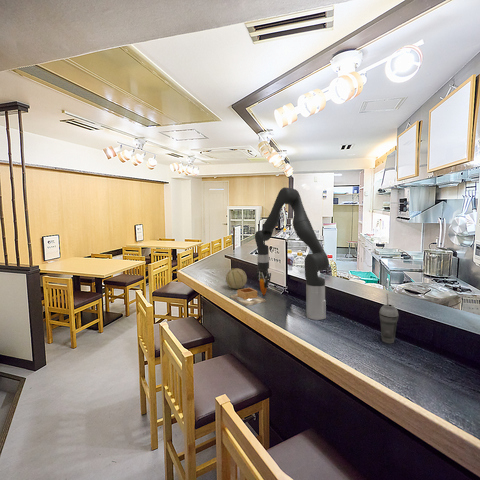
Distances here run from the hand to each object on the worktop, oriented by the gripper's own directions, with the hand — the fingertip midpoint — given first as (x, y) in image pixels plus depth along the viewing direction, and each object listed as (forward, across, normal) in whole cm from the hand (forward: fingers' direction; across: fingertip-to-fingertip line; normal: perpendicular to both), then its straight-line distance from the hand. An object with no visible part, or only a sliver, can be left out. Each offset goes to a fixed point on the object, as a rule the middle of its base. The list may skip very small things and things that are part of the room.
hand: (263, 286), depth 181 cm
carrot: (+6, 0, 0) cm, 6 cm away
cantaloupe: (+6, +25, +6) cm, 26 cm away
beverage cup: (+6, -80, -8) cm, 80 cm away
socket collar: (+5, 0, +13) cm, 14 cm away
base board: (+6, 0, +13) cm, 14 cm away
